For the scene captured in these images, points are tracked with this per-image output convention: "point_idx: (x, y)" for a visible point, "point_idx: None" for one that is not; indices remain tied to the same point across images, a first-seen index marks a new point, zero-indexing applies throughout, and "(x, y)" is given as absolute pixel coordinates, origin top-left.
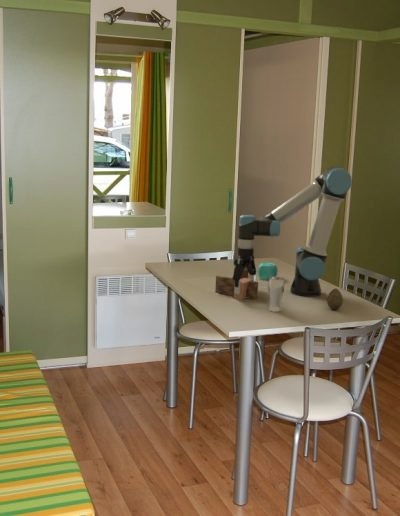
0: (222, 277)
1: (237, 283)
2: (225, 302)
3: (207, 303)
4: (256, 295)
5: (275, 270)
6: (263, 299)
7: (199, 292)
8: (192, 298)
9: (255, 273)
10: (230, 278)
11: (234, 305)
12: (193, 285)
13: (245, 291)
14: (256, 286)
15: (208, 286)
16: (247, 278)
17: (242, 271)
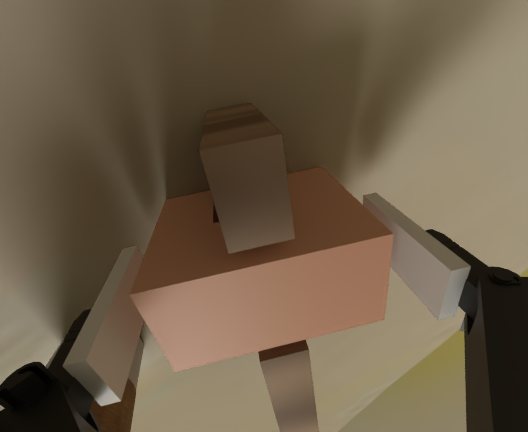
0: (317, 423)
1: (467, 251)
2: (457, 186)
3: (519, 229)
4: (228, 111)
5: None
6: (187, 41)
7: (349, 363)
8: (459, 316)
9: (5, 394)
10: (307, 391)
11: (506, 96)
12: (270, 428)
13: (303, 196)
14: (250, 126)
15: (233, 408)
16: (166, 346)
17: (512, 410)
